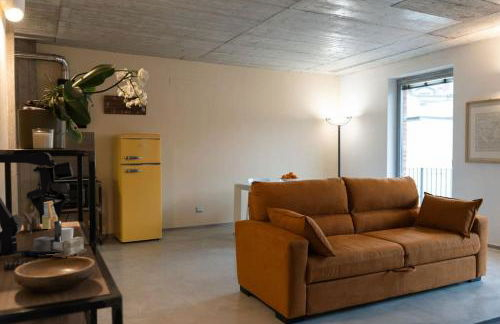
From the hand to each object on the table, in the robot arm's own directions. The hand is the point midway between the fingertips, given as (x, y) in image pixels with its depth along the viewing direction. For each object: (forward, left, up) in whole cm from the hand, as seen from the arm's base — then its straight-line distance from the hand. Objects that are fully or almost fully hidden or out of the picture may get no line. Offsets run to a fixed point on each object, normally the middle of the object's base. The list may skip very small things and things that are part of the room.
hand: (51, 216), depth 170 cm
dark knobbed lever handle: (0, 0, -13) cm, 13 cm away
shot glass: (-8, +18, -16) cm, 25 cm away
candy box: (-43, +49, -16) cm, 67 cm away
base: (+2, 0, -16) cm, 16 cm away
